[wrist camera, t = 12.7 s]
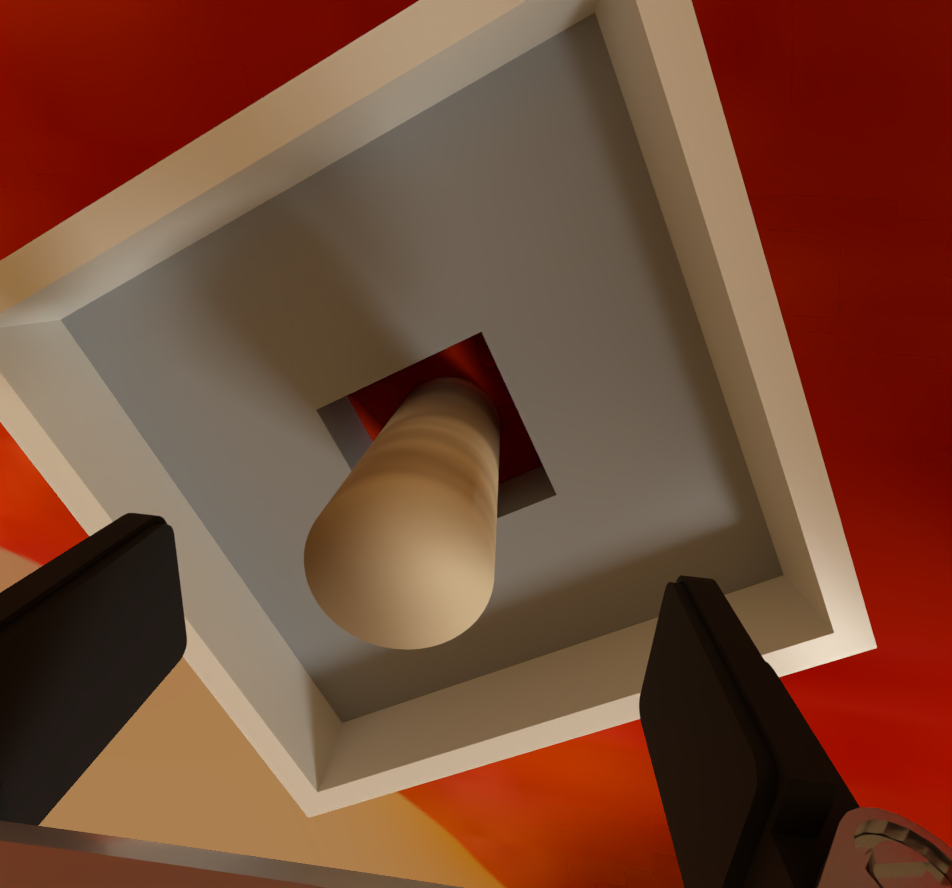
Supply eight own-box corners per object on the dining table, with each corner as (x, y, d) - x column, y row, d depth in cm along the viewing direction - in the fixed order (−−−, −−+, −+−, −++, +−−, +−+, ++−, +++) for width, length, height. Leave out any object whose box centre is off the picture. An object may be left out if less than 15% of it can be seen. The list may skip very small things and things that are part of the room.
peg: (473, 359, 19) (441, 451, 10) (517, 451, 21) (525, 614, 11) (379, 402, 20) (266, 527, 11) (426, 489, 21) (362, 671, 12)
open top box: (598, 2, 16) (649, -144, 10) (778, 544, 21) (877, 647, 16) (87, 297, 19) (-84, 313, 14) (353, 691, 25) (308, 817, 19)
